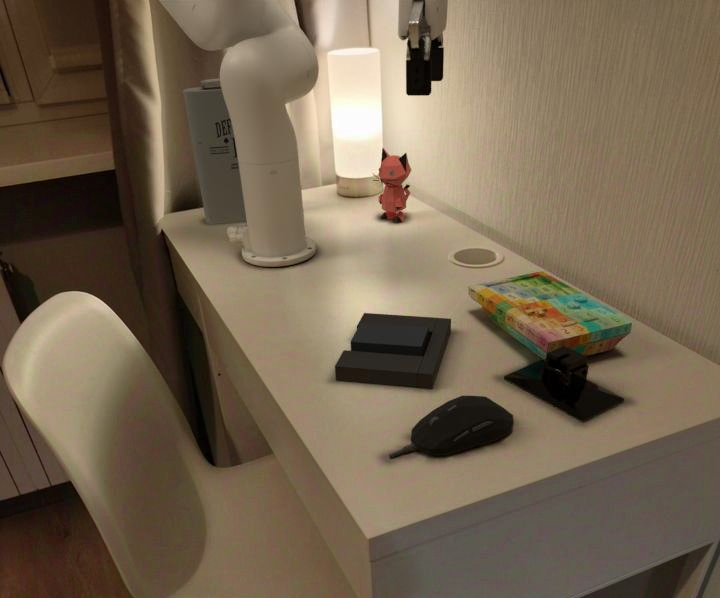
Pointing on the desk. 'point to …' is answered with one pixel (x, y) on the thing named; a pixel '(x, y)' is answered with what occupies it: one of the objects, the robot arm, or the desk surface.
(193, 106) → the flask
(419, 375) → the charcoal u-shaped block
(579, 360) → the build plate
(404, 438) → the desk surface
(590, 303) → the puzzle game
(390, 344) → the slate block
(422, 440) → the gaming mouse
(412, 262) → the desk surface
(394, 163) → the cat figurine
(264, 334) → the desk surface
